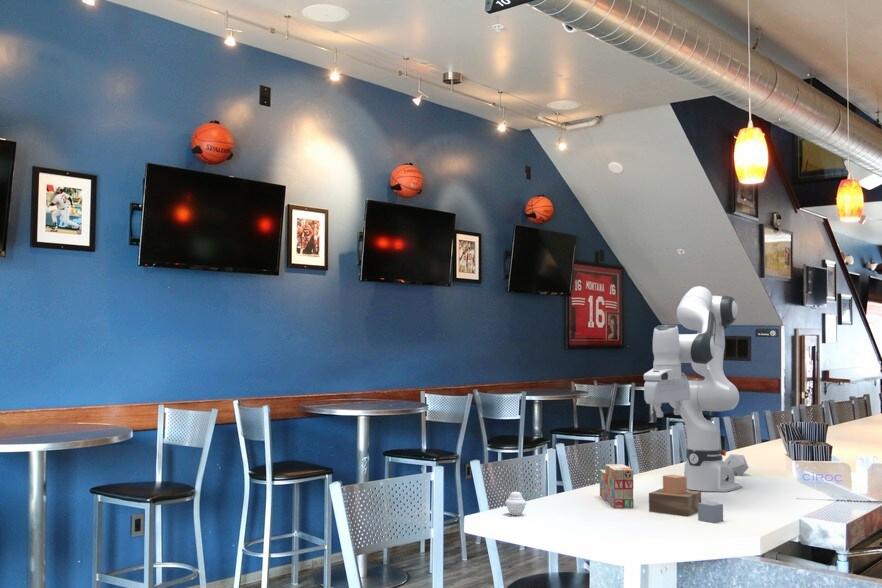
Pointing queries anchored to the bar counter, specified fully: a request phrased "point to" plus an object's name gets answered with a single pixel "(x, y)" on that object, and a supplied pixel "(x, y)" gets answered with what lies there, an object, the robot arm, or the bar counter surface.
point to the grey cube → (710, 512)
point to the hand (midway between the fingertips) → (668, 416)
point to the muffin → (515, 503)
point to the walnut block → (674, 502)
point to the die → (737, 464)
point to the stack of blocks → (617, 485)
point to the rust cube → (675, 484)
